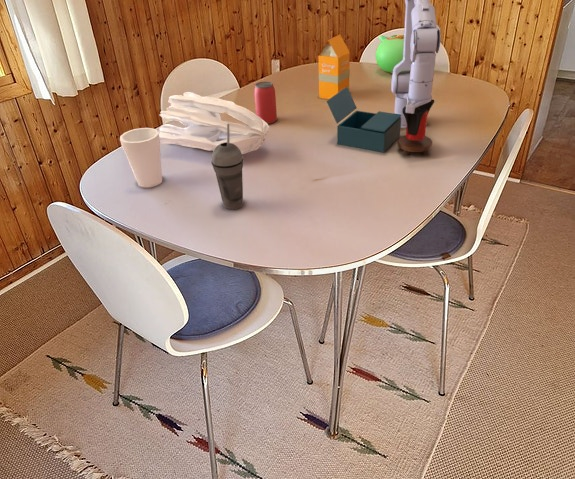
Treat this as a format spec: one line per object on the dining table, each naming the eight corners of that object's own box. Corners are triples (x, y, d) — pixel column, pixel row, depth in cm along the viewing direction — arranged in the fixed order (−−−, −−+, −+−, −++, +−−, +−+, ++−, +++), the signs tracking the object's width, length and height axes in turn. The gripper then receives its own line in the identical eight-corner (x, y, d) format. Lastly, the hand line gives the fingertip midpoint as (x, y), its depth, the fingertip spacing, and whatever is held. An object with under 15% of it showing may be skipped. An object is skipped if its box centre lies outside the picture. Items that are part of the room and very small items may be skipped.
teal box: (337, 145, 142) (337, 123, 138) (355, 129, 151) (356, 107, 147) (383, 154, 136) (384, 131, 132) (399, 136, 145) (401, 114, 141)
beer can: (274, 125, 157) (272, 87, 150) (254, 124, 158) (251, 87, 151) (279, 117, 162) (276, 80, 155) (259, 117, 164) (256, 80, 157)
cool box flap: (337, 123, 138) (336, 123, 138) (356, 108, 147) (355, 108, 147) (327, 100, 136) (326, 101, 136) (347, 86, 145) (346, 87, 145)
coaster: (413, 143, 141) (414, 131, 139) (437, 153, 134) (439, 141, 132) (390, 152, 137) (391, 140, 135) (414, 163, 130) (415, 150, 128)
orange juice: (349, 93, 178) (350, 34, 167) (338, 100, 172) (338, 40, 161) (330, 90, 182) (330, 32, 171) (318, 97, 176) (317, 38, 165)
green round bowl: (374, 78, 190) (376, 38, 182) (375, 66, 204) (377, 28, 195) (422, 78, 187) (426, 37, 179) (420, 65, 201) (423, 27, 193)
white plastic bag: (284, 110, 141) (185, 94, 155) (254, 93, 124) (146, 77, 138) (271, 169, 142) (174, 148, 156) (239, 160, 126) (135, 137, 140)
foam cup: (136, 194, 125) (124, 146, 117) (128, 179, 131) (116, 133, 124) (172, 184, 128) (163, 137, 120) (163, 170, 135) (153, 125, 127)
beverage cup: (218, 198, 121) (206, 119, 109) (248, 195, 121) (239, 117, 109) (217, 214, 115) (204, 132, 103) (248, 211, 115) (239, 129, 103)
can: (419, 132, 135) (422, 105, 131) (428, 139, 131) (431, 111, 127) (402, 134, 134) (405, 108, 130) (410, 141, 130) (413, 114, 126)
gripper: (415, 69, 131) (410, 118, 139) (395, 86, 121) (391, 138, 129) (441, 72, 128) (435, 122, 136) (424, 89, 118) (418, 142, 125)
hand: (416, 130), depth 132 cm, fingers closed on can, 5 cm apart
